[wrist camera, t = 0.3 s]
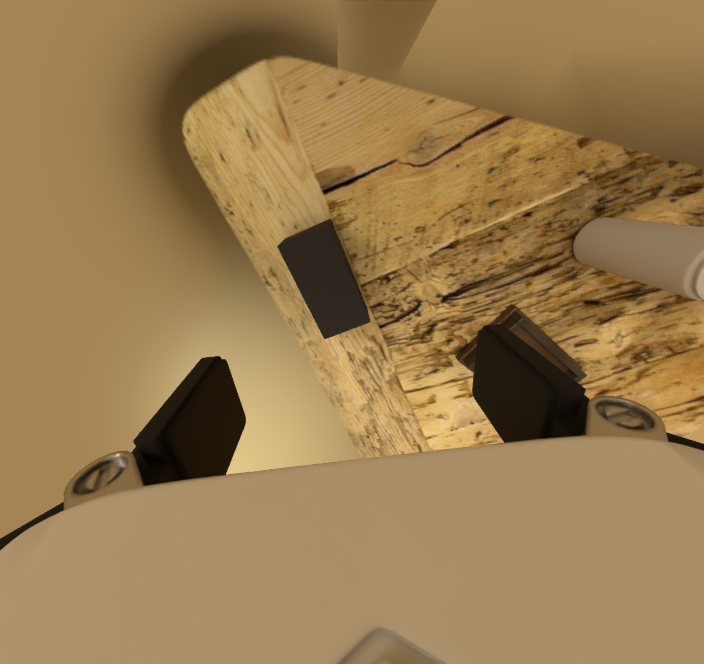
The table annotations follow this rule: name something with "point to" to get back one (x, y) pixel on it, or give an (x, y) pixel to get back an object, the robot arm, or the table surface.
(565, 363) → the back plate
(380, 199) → the table surface
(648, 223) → the beverage can
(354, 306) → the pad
